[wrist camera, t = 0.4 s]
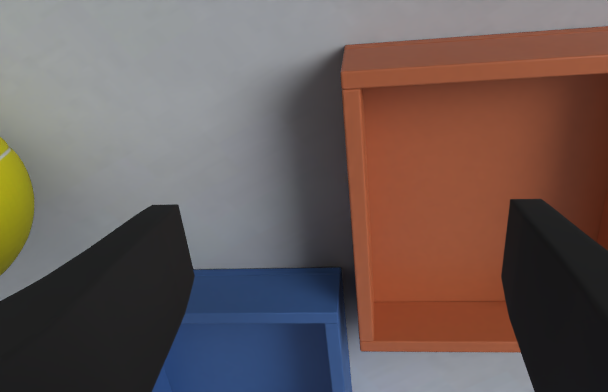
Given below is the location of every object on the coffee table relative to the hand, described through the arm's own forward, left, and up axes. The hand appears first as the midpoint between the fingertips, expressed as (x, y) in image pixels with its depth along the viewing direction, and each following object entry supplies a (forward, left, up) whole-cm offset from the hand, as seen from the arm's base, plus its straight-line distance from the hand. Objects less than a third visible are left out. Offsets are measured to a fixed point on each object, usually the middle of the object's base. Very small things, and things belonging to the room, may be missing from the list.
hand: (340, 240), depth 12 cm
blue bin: (-15, +6, -10) cm, 19 cm away
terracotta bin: (-5, -5, -10) cm, 12 cm away
